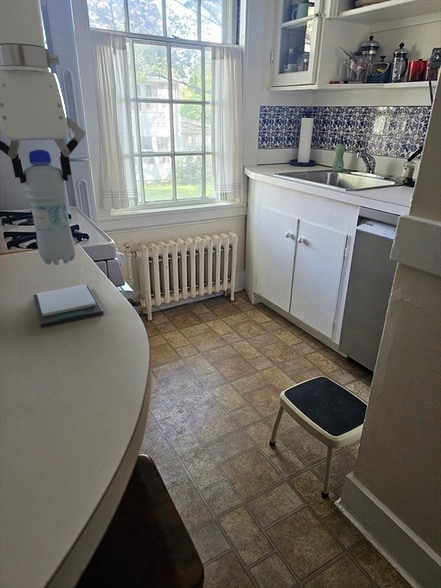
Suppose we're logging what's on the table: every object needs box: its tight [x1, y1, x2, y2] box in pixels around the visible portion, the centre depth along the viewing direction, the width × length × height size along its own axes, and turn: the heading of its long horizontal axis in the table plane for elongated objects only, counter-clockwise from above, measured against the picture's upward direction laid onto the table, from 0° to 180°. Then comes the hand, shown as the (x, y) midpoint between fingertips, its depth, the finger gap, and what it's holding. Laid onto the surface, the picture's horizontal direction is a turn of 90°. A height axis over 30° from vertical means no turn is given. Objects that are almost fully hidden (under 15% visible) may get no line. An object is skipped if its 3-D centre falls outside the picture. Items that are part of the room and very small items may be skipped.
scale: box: [33, 284, 105, 329], centre depth 77 cm, size 14×11×3 cm
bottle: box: [24, 149, 76, 266], centre depth 70 cm, size 7×7×20 cm
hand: (44, 179), depth 68 cm, fingers closed on bottle, 6 cm apart
